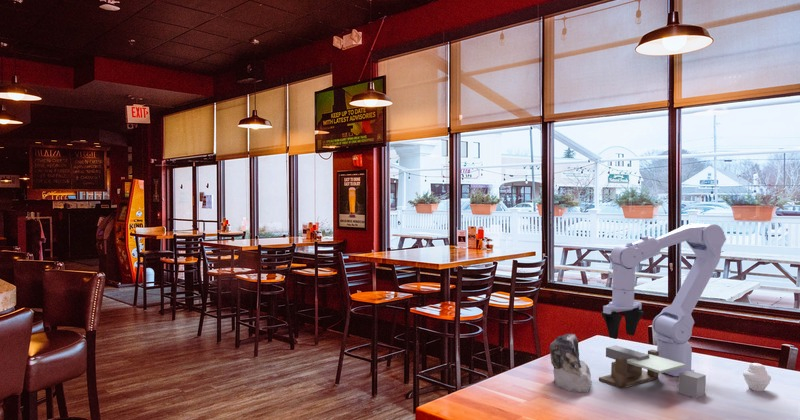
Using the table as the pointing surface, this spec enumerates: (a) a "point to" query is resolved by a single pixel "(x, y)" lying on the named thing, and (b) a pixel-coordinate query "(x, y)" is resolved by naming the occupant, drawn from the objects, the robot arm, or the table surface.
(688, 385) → the granite cube
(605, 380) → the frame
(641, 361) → the trapdoor
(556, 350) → the stone
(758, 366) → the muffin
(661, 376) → the table surface
